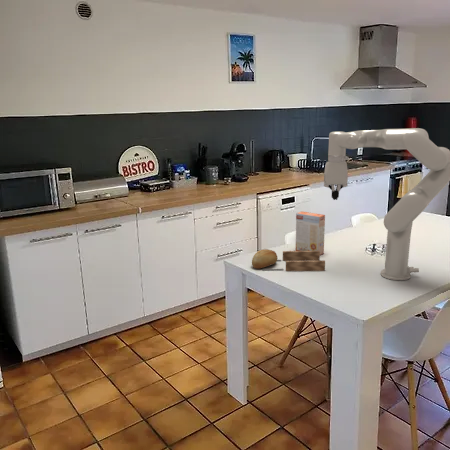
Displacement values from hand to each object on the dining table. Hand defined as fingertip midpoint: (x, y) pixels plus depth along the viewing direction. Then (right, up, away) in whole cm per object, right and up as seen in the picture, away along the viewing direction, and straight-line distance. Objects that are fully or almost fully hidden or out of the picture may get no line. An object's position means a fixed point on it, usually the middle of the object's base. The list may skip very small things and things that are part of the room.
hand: (335, 199), depth 208 cm
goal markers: (-28, -31, +9) cm, 43 cm away
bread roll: (-31, -32, +9) cm, 46 cm away
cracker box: (-7, -26, +27) cm, 38 cm away
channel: (-13, -31, +9) cm, 35 cm away
